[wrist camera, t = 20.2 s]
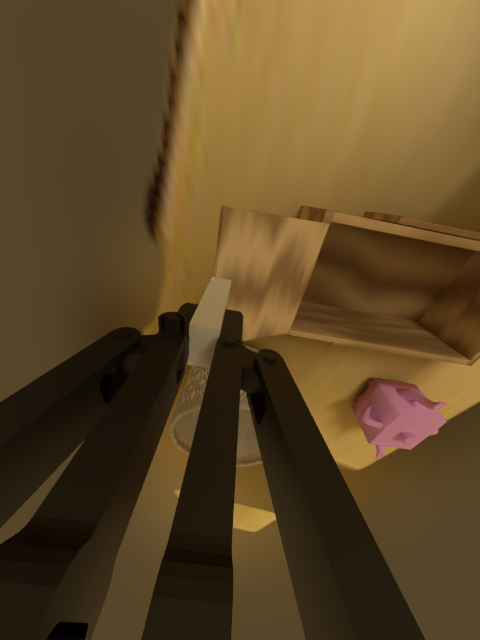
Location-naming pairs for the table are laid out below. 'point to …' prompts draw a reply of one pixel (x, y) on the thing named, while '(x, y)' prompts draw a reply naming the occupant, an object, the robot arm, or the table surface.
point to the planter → (189, 414)
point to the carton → (393, 287)
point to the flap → (266, 266)
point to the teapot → (396, 415)
